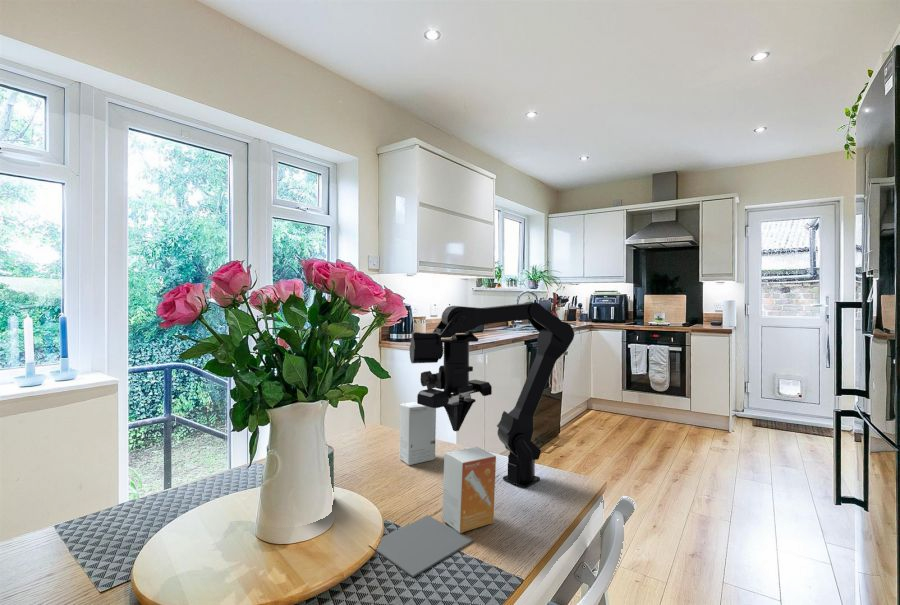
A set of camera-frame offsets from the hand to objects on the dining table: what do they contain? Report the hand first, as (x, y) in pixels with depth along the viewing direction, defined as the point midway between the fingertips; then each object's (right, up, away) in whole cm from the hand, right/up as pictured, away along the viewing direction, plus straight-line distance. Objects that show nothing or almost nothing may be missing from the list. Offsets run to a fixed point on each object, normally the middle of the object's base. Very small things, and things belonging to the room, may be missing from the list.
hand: (455, 430), depth 98 cm
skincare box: (-10, -13, +17) cm, 24 cm away
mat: (-6, -13, -22) cm, 26 cm away
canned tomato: (-30, -13, -7) cm, 33 cm away
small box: (+2, -13, -15) cm, 20 cm away
